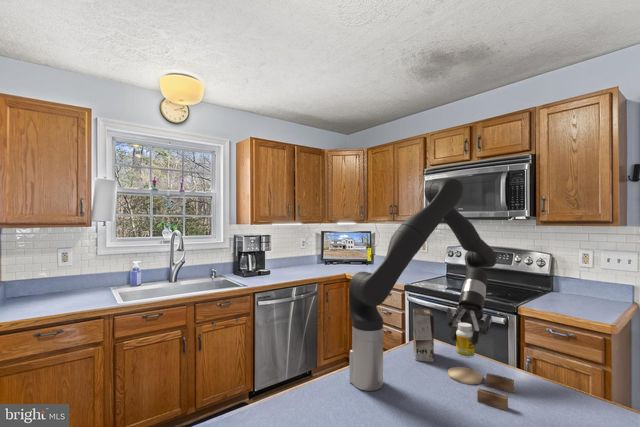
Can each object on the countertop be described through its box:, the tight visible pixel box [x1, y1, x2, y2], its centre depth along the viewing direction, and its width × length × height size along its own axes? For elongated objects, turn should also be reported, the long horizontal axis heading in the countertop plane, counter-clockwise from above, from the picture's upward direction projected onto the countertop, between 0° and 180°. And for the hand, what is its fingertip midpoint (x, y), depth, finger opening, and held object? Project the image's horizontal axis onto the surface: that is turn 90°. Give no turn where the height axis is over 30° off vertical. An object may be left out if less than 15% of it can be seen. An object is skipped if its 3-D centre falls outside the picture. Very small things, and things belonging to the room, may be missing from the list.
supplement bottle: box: [455, 323, 475, 359], centre depth 105 cm, size 5×5×10 cm
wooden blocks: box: [476, 372, 515, 412], centre depth 93 cm, size 7×13×3 cm, turn 142°
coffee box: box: [412, 308, 435, 363], centre depth 120 cm, size 9×6×16 cm
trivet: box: [447, 366, 483, 385], centre depth 104 cm, size 10×10×1 cm
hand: (463, 341), depth 103 cm, fingers closed on supplement bottle, 5 cm apart
